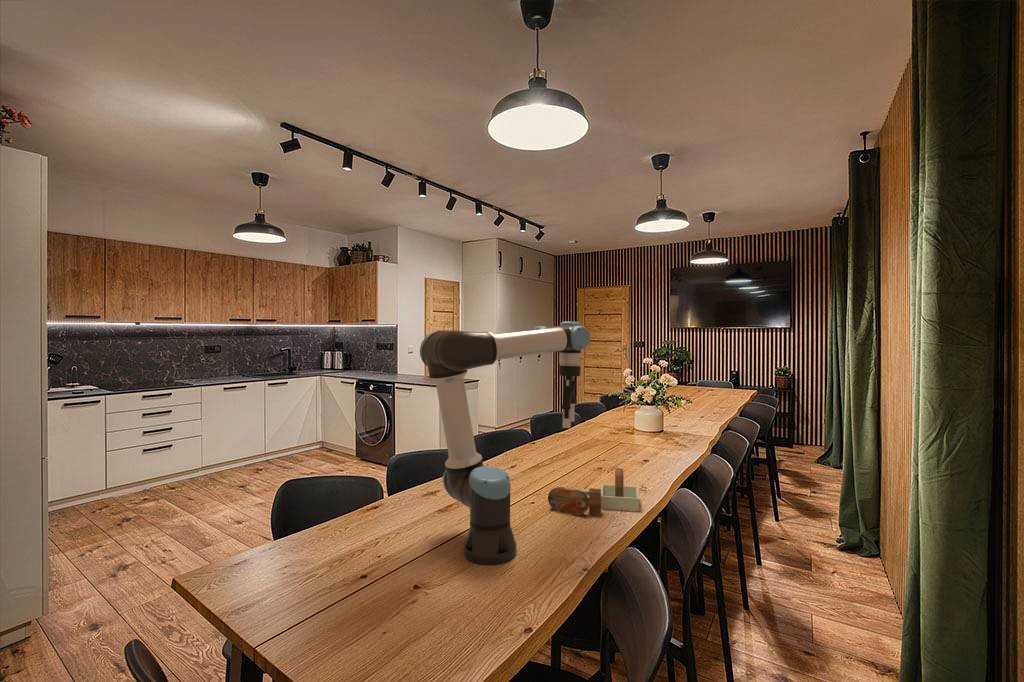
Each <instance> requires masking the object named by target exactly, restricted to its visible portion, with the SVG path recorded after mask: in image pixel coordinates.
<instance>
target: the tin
mask: <svg viewBox="0 0 1024 682" xmlns="http://www.w3.org/2000/svg"><path fill="white" fill-rule="evenodd" d="M576 489H577V488H569V487H564V486H558V487H554V488H552V489H550V490H549V493H548V495H547V500H548V501H547V502H548V504H549V506H550V508H551V509H552V510H553V511H555V512H557V511H559V513H562V512H563V514H567V513H568V514H569V515H573V516H582V515H583V514H585V513H586V512H587V511H588V510H589V499H588V497H587V495H586V494H585V493H584V492H583V491H581V490H576Z"/></svg>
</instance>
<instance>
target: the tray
mask: <svg viewBox="0 0 1024 682" xmlns="http://www.w3.org/2000/svg"><path fill="white" fill-rule="evenodd" d="M600 489H601V510H608V509H610V511H622V510H630V511H629V512H636V511H639V512H640V497H639V496H640V495H639V492H638V486H631V485H629V486H628V485H624V497H615V484H614V485H613V484H612V485H611V484H601V488H600Z"/></svg>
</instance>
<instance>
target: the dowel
mask: <svg viewBox="0 0 1024 682" xmlns="http://www.w3.org/2000/svg"><path fill="white" fill-rule="evenodd" d="M614 482H615V483H614V485H615V497H624V486H625V485H624V468H618V467H617V468H615V470H614Z"/></svg>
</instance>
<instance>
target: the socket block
mask: <svg viewBox="0 0 1024 682" xmlns="http://www.w3.org/2000/svg"><path fill="white" fill-rule="evenodd" d="M575 489H576V490H581V491H583V492H584V493H585V494H586V495H587V497H588V499H589V489H585V488H584V489H582V488H575Z"/></svg>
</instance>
